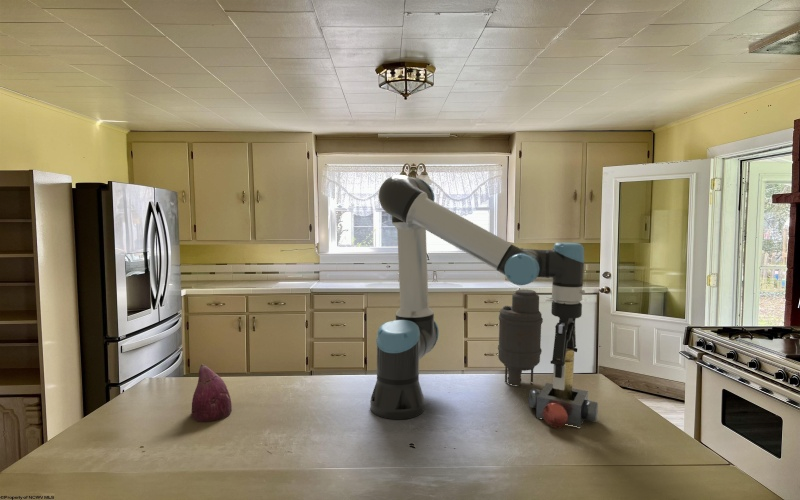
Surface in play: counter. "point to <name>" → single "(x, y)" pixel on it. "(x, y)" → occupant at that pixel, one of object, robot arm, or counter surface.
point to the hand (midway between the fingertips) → (563, 381)
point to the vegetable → (210, 397)
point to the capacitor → (520, 335)
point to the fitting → (567, 377)
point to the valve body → (562, 407)
